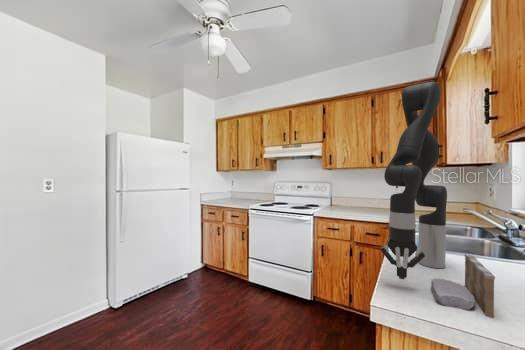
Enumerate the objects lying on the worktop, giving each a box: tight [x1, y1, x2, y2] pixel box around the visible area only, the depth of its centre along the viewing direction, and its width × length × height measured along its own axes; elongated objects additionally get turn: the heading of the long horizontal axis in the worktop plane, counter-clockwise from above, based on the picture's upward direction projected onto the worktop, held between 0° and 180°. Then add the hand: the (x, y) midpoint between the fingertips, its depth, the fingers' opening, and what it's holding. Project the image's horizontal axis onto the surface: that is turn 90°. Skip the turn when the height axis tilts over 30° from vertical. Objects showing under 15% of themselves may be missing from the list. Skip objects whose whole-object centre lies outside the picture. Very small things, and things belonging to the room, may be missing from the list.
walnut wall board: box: [464, 253, 496, 319], centre depth 71 cm, size 20×2×11 cm, turn 152°
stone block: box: [430, 278, 476, 311], centre depth 71 cm, size 12×5×10 cm
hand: (401, 278), depth 78 cm, fingers closed
